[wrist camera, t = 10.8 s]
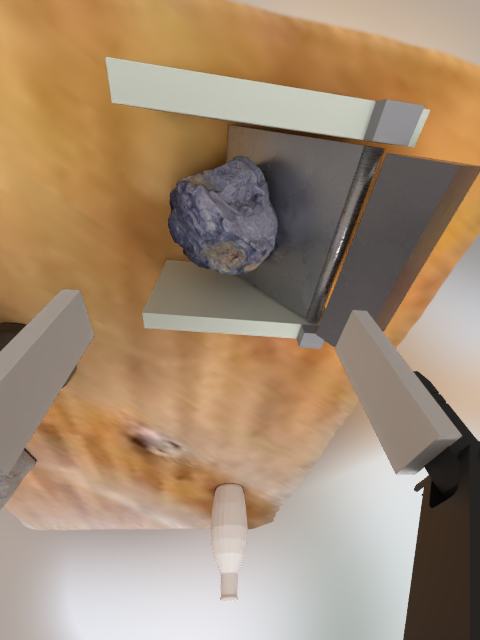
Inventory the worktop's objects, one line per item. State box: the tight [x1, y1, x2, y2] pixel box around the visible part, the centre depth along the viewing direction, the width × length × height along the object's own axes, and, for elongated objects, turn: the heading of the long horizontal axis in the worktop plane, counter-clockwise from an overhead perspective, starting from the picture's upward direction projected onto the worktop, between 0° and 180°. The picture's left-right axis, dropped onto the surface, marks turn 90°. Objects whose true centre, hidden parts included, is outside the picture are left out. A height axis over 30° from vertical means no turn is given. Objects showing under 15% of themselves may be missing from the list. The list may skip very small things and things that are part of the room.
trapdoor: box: [226, 125, 480, 347], centre depth 26 cm, size 21×15×7 cm
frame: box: [105, 57, 430, 349], centre depth 26 cm, size 20×20×14 cm
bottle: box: [211, 483, 248, 601], centre depth 76 cm, size 11×11×25 cm
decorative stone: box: [0, 450, 36, 509], centre depth 61 cm, size 11×6×15 cm, turn 170°
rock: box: [168, 156, 278, 275], centre depth 26 cm, size 11×10×10 cm
